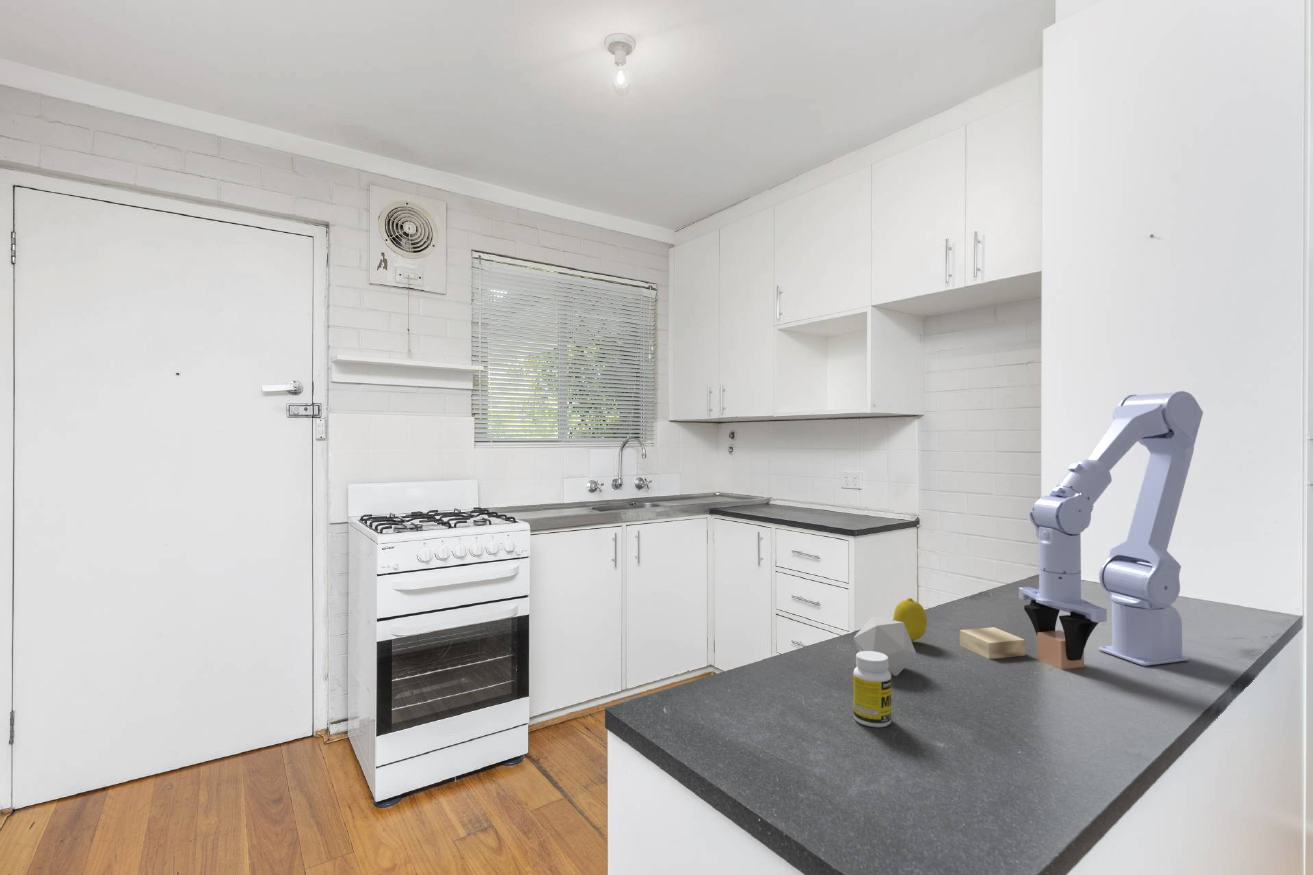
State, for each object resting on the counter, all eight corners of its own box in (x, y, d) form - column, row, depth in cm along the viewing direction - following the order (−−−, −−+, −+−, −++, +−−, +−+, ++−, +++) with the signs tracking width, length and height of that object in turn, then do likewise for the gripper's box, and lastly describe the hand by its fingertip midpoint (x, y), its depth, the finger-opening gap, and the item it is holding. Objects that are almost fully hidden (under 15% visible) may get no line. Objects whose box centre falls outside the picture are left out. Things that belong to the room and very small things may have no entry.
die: (924, 673, 99) (899, 615, 104) (922, 662, 92) (895, 601, 97) (873, 688, 100) (851, 630, 106) (868, 678, 94) (844, 617, 99)
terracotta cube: (1059, 657, 104) (1059, 630, 104) (1084, 666, 100) (1083, 638, 100) (1037, 659, 103) (1037, 632, 103) (1061, 669, 98) (1061, 641, 98)
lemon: (930, 648, 108) (929, 602, 108) (896, 646, 109) (896, 601, 109) (923, 638, 114) (923, 594, 114) (891, 636, 115) (890, 593, 115)
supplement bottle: (887, 731, 78) (886, 664, 78) (849, 722, 81) (848, 657, 81) (895, 716, 82) (894, 653, 82) (858, 708, 85) (858, 647, 85)
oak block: (994, 643, 112) (994, 627, 112) (1024, 657, 105) (1024, 639, 105) (959, 646, 110) (959, 630, 110) (988, 660, 103) (988, 642, 103)
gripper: (1004, 563, 107) (1004, 641, 107) (1080, 581, 93) (1080, 672, 93) (1037, 560, 109) (1038, 638, 109) (1117, 578, 95) (1118, 668, 95)
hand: (1060, 654), depth 101 cm, fingers closed on terracotta cube, 4 cm apart
